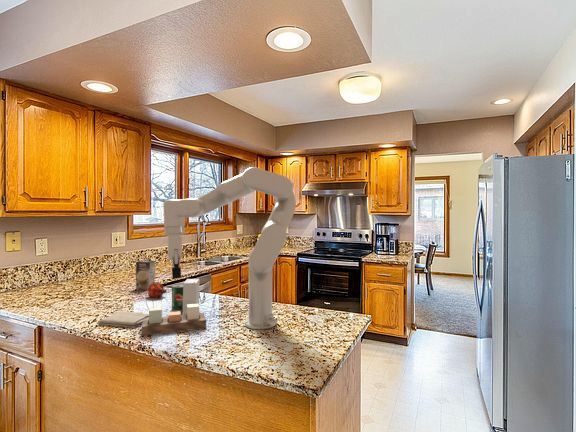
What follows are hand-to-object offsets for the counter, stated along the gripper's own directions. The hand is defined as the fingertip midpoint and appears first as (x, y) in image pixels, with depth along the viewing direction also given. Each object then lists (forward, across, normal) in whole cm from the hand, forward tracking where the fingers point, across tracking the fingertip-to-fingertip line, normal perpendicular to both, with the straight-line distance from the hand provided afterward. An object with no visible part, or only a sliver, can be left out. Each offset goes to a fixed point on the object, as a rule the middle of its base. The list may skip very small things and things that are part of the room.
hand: (176, 277), depth 129 cm
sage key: (+16, 0, -8) cm, 18 cm away
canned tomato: (+20, -27, +1) cm, 33 cm away
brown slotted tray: (+20, 0, -2) cm, 20 cm away
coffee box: (+18, -78, -17) cm, 82 cm away
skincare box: (+20, -16, +6) cm, 26 cm away
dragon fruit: (+19, -53, -10) cm, 57 cm away
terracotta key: (+19, 0, -2) cm, 19 cm away
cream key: (+17, 0, +5) cm, 18 cm away
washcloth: (+19, -14, -20) cm, 32 cm away
